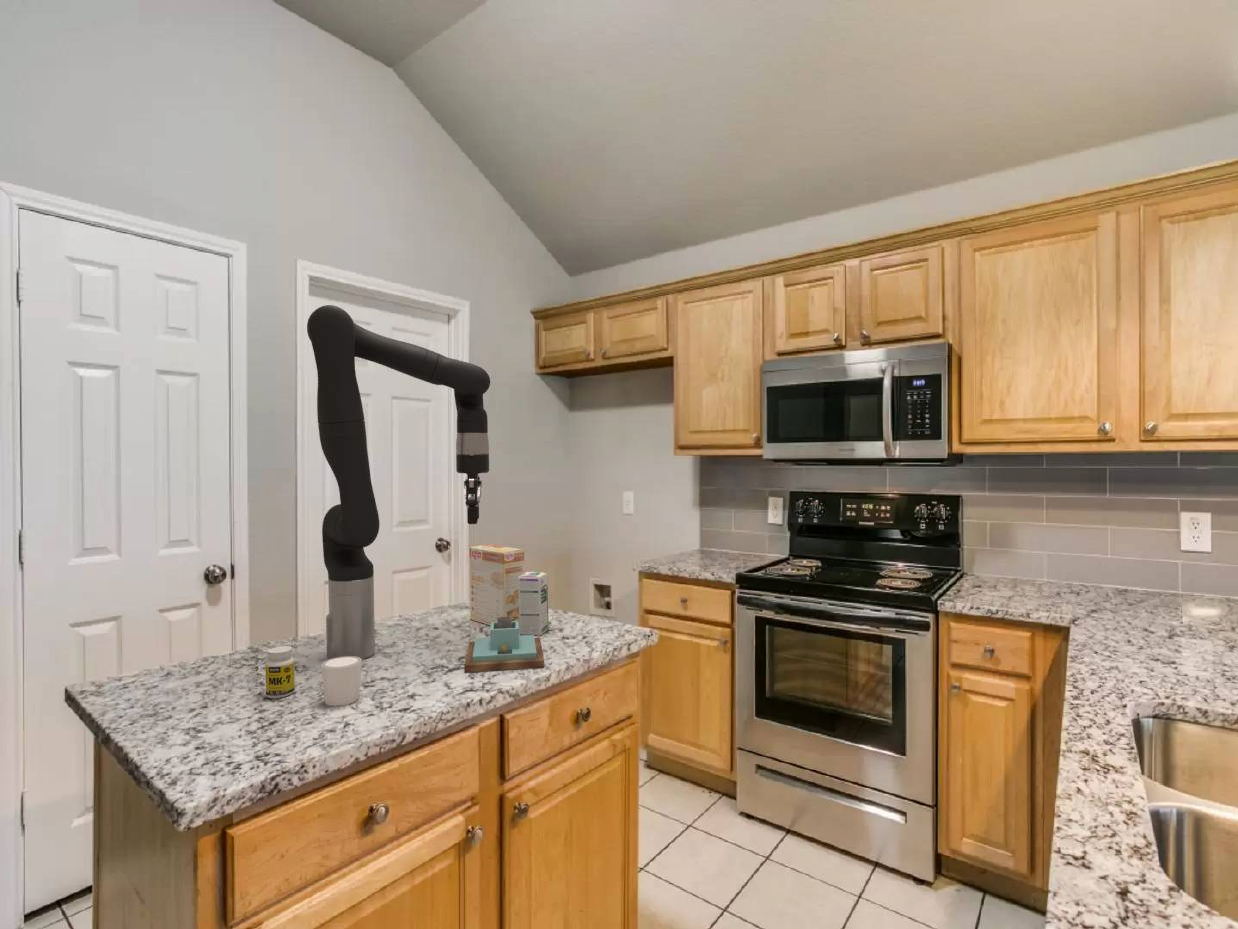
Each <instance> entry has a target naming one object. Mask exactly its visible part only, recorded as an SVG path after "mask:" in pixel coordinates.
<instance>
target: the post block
mask: <svg viewBox="0 0 1238 929" xmlns="http://www.w3.org/2000/svg"><path fill="white" fill-rule="evenodd" d="M497 625H498V629H503V628H512V618H511V617H500V618H498V619H497ZM534 639H535V646H536V656H537V659H521V660H505V661H489V662H473V651H474V645H475V641H468V645H467V650H466V656H465V662H464V673H465V674H468V673H484V672H500V670H501V671H512V670H514V671H515V670H529V669H544V668H545V657H544V652H543V648H542V641H541V637H534ZM502 654H507V645H503V646H502Z"/></svg>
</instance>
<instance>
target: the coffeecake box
mask: <svg viewBox="0 0 1238 929" xmlns="http://www.w3.org/2000/svg"><path fill="white" fill-rule="evenodd" d="M523 574H525V549H522V548H515V547H509V546H503V545H497V544H492V543H491V544H490V543H488V544H481V545H479V544H478V545H475V546H474V545H473V546H469V592H470V593H469V597H470V598H469V599H470V600H469V601H470V602H469V604H470V605H469V606H470V608H469V609H470V611H469V612H470V618H469V619H470V620H471V619H472V620H471V621H476V622H478V623H480V624H485V625H488V626H490V627H491V622H497V619H498V618H500V617H511V618H512V621H518V622H519V592H518V577H519V576H521V575H523Z"/></svg>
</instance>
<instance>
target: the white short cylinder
mask: <svg viewBox="0 0 1238 929" xmlns="http://www.w3.org/2000/svg"><path fill="white" fill-rule="evenodd" d="M362 664H363V659H361V658H359V657H355V656H343V657H337V658H332V659H329V660H327V659H326V660H324V661H323V662H321V664H320V672H321V677H322V678H321V679H322V687H323V688H322V689H323V694H324V695H323V696H324V703H325V704H326V705H327V706H329V705H343V706H346V705H350V703H351V704H353V703H355V702H357V701H358V700H359V698H360V689H361V676H362V666H363V665H362ZM357 699H358V700H357ZM356 700H357V701H356ZM352 702H353V703H352Z"/></svg>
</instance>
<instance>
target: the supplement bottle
mask: <svg viewBox="0 0 1238 929" xmlns="http://www.w3.org/2000/svg"><path fill="white" fill-rule="evenodd" d="M264 666H265V696H266V698H269V699H282V698H286V697H289V696H291V695H292V693H293V694H294V693H295V692H296V691H295V690H296V689H295V688H296V687H295V676H296V675H295V659H294V657H293V649H292V647H291V646H287V645H286V646H285V645H283V646H281V645H280V646H276V647H272V648H269V649H268V650H267V660H266V661H265V665H264ZM288 695H289V696H288ZM285 696H286V697H285ZM281 697H282V698H281Z"/></svg>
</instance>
